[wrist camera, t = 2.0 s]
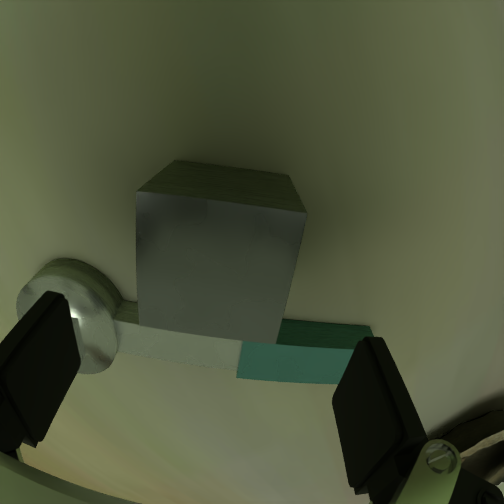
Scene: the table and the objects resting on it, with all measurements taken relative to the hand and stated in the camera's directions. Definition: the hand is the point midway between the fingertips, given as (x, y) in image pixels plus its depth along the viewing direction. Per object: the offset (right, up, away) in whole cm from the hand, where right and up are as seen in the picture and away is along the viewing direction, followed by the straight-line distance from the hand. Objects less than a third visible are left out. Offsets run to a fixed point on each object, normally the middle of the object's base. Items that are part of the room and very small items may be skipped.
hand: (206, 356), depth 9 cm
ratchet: (-3, -2, +12) cm, 12 cm away
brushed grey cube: (0, +5, +9) cm, 10 cm away
